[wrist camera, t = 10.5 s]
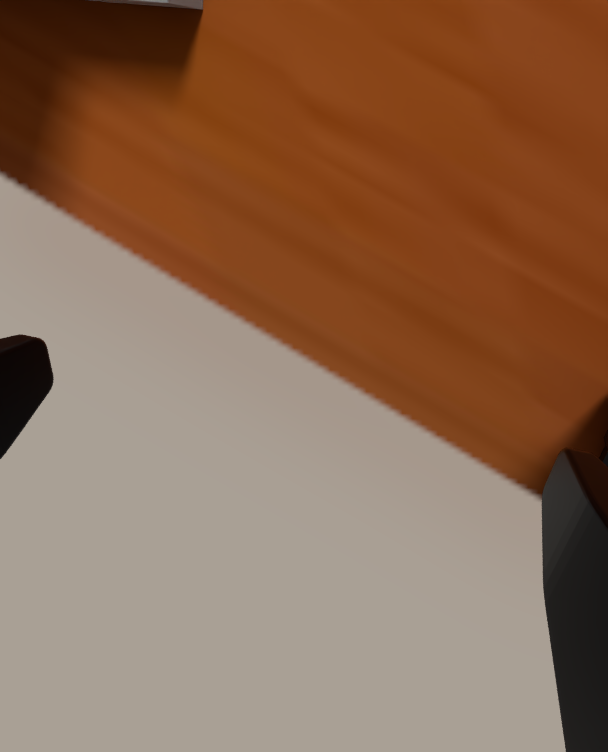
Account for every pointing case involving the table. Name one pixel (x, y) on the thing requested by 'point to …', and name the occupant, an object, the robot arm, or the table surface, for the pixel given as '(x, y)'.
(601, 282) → the table surface
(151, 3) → the scale
